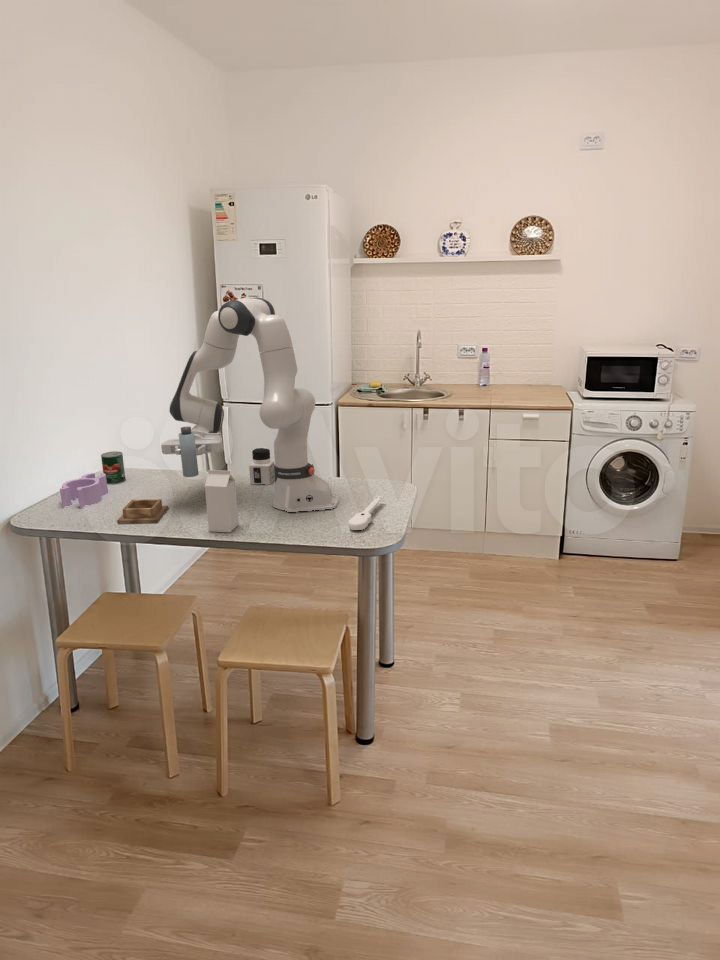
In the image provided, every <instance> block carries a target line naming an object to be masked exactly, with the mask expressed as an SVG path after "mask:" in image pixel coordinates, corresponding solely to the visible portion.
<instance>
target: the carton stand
mask: <svg viewBox="0 0 720 960" xmlns="http://www.w3.org/2000/svg"><path fill="white" fill-rule="evenodd" d="M169 509H170V507H169V505H163V501H162V498H155V499H154V498H153V499H152V498H151V499H150V498H149V499H131V500H130V501H129V502H128V503H127V504H126V505H125V506H124V507H123V508H122V515H121V516H120V517H119V518H118V519H117V520H116V524H117V523H118V524H117V525H132V524H133V525H136V524H139V525H141V524H158V523H159V522H160V521H161V520H162V518H163V517H164V516H165V514H166V513H167V512H168V510H169ZM166 511H167V512H166ZM163 515H164V516H163Z"/></svg>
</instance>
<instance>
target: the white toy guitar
mask: <svg viewBox="0 0 720 960" xmlns="http://www.w3.org/2000/svg"><path fill="white" fill-rule="evenodd" d="M383 499H384V496H381V495H379V496H374V498H373V499H372V501H371V502H370V503H369V504H368V505H367V506H366V508H365V509H364V510H363V511H360V512H357V513H355V514H354V515H353V516H352V517H351V518H350V519H349V520H348V528H349V530H350V529H351V531H354V530H362V531H363V529H364V530H366V529H367V528H368V526H369V525H370V524H371V523H372V514H371V513H370V512H371V511H372V510H373V509H374V508H375V507H376V506H377V504H379V502H381V501H382V500H383ZM370 522H371V523H370ZM369 523H370V524H369ZM368 524H369V525H368ZM366 527H367V528H366ZM365 528H366V529H365Z"/></svg>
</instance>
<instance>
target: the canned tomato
mask: <svg viewBox="0 0 720 960" xmlns="http://www.w3.org/2000/svg"><path fill="white" fill-rule="evenodd" d="M100 457H101V458H100V459H101V465H102V473H105V474H106V481H107V485H118V484H123V483H124V482H126V473H125V472H126V471H125V463H124V455H123V452H122V451H108V452H103V453H101V454H100Z"/></svg>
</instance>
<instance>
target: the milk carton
mask: <svg viewBox="0 0 720 960" xmlns="http://www.w3.org/2000/svg"><path fill="white" fill-rule="evenodd" d="M204 490H205V491H204V492H205V501H206V502H205V504H206V513H207V514H206V515H207V525H208V532H214V533H215V532H216V533H231V532H232V531H233V530H235V528H237V526H239V516H238V515H239V514H238V502H237V490H236V479H235V478H234V477H233V476H232V473H231V470H222V469H221V470H218V469H217V470H216V469H208V470H207V477H206V480H205V484H204Z"/></svg>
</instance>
